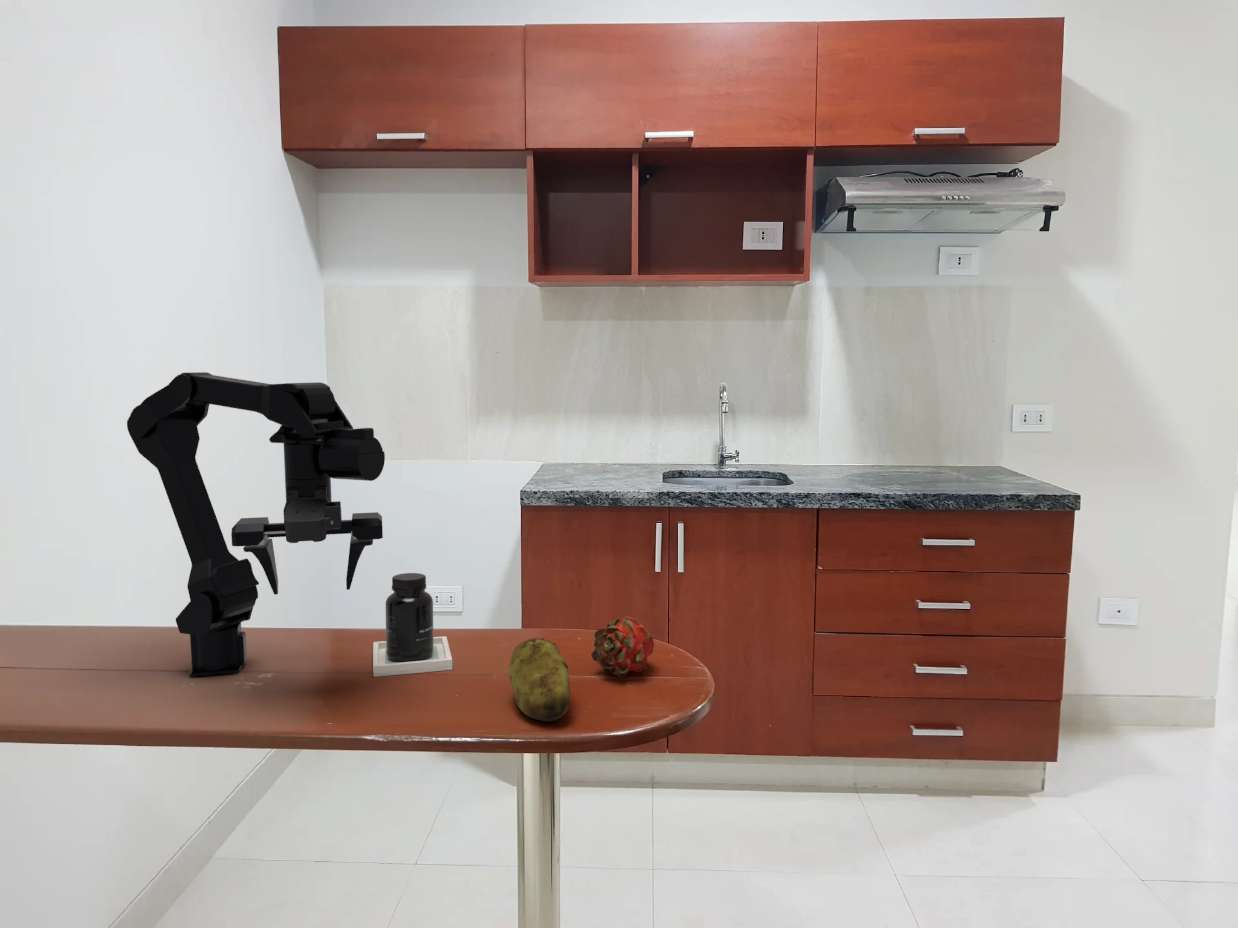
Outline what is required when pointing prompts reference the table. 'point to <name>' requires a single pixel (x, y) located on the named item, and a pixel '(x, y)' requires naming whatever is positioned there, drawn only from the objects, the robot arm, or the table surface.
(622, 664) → the dragon fruit
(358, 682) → the table surface
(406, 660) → the supplement bottle
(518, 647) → the potato
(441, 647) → the cream ceramic dish
